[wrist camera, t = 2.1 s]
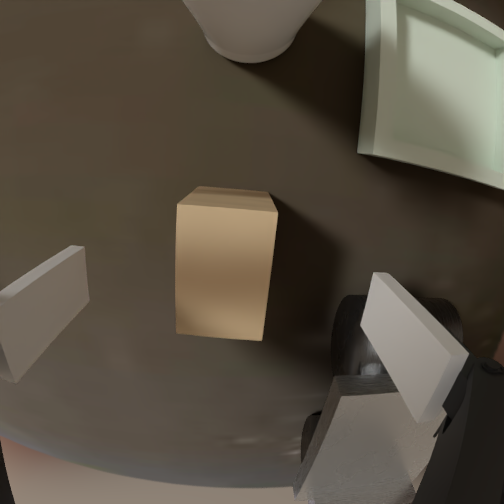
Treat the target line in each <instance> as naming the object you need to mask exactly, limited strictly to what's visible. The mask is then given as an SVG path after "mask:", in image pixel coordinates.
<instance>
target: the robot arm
mask: <svg viewBox="0 0 504 504" xmlns="http://www.w3.org/2000/svg"><path fill="white" fill-rule="evenodd" d="M89 301H90V299H89V291H88V282H87V271H86V260H85V247H82V246H72V245H71V246H69V247H68V248H66V249H64V250H63V251H61V252H60V253H58V254H56V255H55V256H53V257H51V258H50V259H48V260H47V261H45V262H43V263H42V264H40V265H39V266H37V267H36V268H34V269H33V270H31V271H29V272H28V273H26V274H25V275H23V276H22V277H20V278H19V279H17V280H16V281H14V282H13V283H11V284H10V285H9V286H7V287H6V288H4V289H3V290H1V291H0V377H1V378H2V379H4V380H6V381H9V382H11V383H14V384H17V383H18V381H19V380H20V379H21V378H22V376H23V375H24V374H25V373H26V372H27V370H28V369H29V368H30V367H31V366H32V364H33V363H34V362H35V361H36V360H37V359H38V357H39V356H40V355H41V354H42V353H43V352H44V351H45V349H46V348H47V347H48V346H49V345H50V344H51V343H52V341H53V340H54V339H55V338H56V337H57V336H58V335H59V334H60V332H61V331H62V330H63V329H64V328H65V327H66V326H67V325H68V324H69V323H70V322H71V320H72V319H73V318H74V317H75V316H76V315H77V314H78V313H79V312H80V311H81V310H82V309H83V308H84V307H85V305H86V304H87V303H88V302H89ZM360 326H361V327H362V329H363V331H364V332H365V334H366V336H367V337H368V339H369V341H370V342H371V344H372V346H373V347H374V349H375V351H376V352H377V354H378V356H379V358H380V359H381V361H382V363H383V364H384V366H385V368H386V370H387V371H388V373H389V375H390V377H391V378H392V380H393V382H394V384H395V385H396V387H397V389H398V391H399V392H400V394H401V396H402V398H403V400H404V401H405V403H406V405H407V407H408V409H409V410H410V412H411V414H412V416H413V418H414V420H415V421H416V423H422V422H427V421H432V420H435V418H436V417H437V415H438V413H439V411H440V410H441V408H442V407H443V408H444V410H445V411H446V413H447V415H446V416H445V418H444V420H443V421H442V423H441V424H440V426H439V428H438V429H437V431H436V432H435V434H434V435H433V437H434V438H435V437H436V436H437V435H438V437H437V440H436V443H435V446H434V449H433V452H432V455H431V457H430V460H429V463H428V466H427V468H426V471H425V473H424V476H423V479H422V481H421V483H420V486H419V488H418V490H417V493H416V495H415V497H414V499H413V502H412V504H504V367H503V366H502V365H501V364H499V363H498V362H497V361H495V360H493V359H490V358H486V357H480V358H478V359H477V358H476V357H475V356H474V355H473V353H472V352H471V351H470V350H469V349H468V348H467V347H466V346H465V345H464V344H463V343H462V342H460V340H459V339H458V338H457V337H456V336H454V334H453V333H452V332H451V331H450V330H449V329H448V328H447V327H446V326H444V325H442V324H441V323H439V322H438V321H437V320H436V319H435V318H434V317H433V316H432V315H431V314H430V313H429V312H428V311H427V310H426V309H425V308H424V307H423V306H422V305H421V304H420V303H419V302H418V301H417V300H416V299H415V298H414V297H413V296H412V295H411V294H410V293H409V292H408V291H407V290H406V289H405V288H403V287H402V286H401V285H400V284H399V283H398V282H397V281H396V280H395V279H394V278H393V277H392V276H391V275H390V274H388V273H380V272H373V277H372V281H371V285H370V289H369V293H368V297H367V301H366V305H365V309H364V313H363V317H362V321H361V324H360ZM0 504H15V502H14V498H13V495H12V491H11V487H10V484H9V480H8V476H7V472H6V467H5V463H4V458H3V453H2V447H1V442H0Z"/></svg>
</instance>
